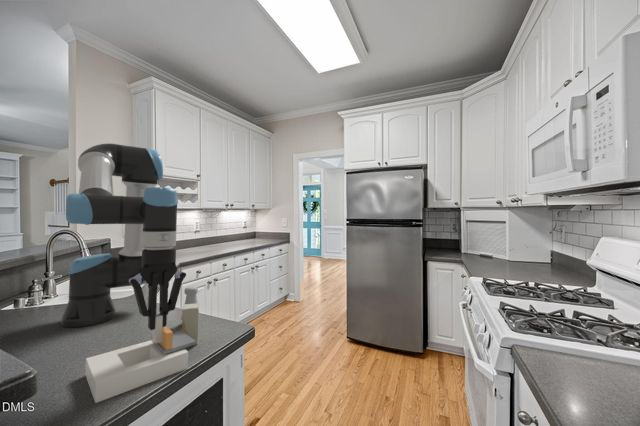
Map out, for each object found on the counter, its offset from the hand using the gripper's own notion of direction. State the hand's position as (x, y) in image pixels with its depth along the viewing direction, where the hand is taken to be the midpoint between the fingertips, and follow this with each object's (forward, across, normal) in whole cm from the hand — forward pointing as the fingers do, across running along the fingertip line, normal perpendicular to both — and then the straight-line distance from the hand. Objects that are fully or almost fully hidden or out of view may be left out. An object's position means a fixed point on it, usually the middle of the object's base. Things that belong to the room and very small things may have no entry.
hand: (157, 340), depth 69 cm
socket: (+6, -4, 0) cm, 7 cm away
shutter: (+2, +4, 0) cm, 4 cm away
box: (+6, +11, +7) cm, 15 cm away
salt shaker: (+6, +17, +22) cm, 29 cm away
